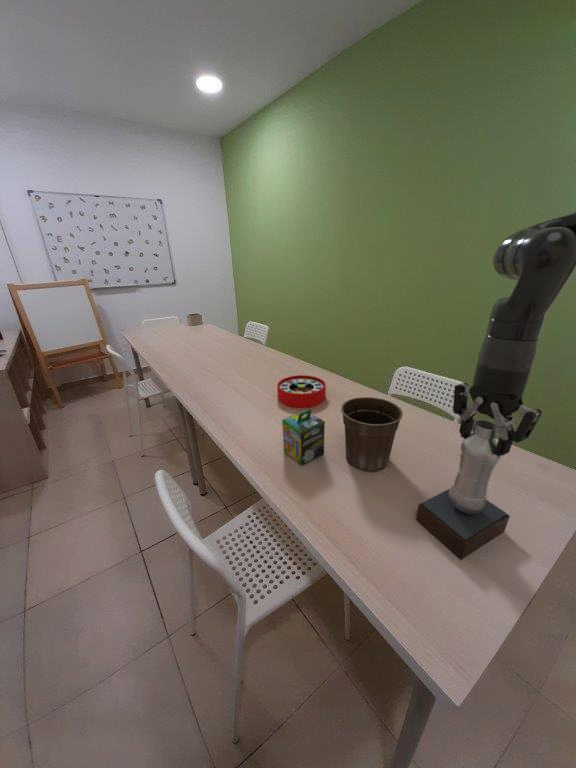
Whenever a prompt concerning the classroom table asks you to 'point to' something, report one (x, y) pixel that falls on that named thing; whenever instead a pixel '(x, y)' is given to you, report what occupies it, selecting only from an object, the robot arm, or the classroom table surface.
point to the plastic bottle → (475, 468)
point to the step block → (460, 524)
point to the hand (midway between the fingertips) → (481, 444)
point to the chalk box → (303, 436)
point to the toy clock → (301, 391)
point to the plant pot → (370, 431)
